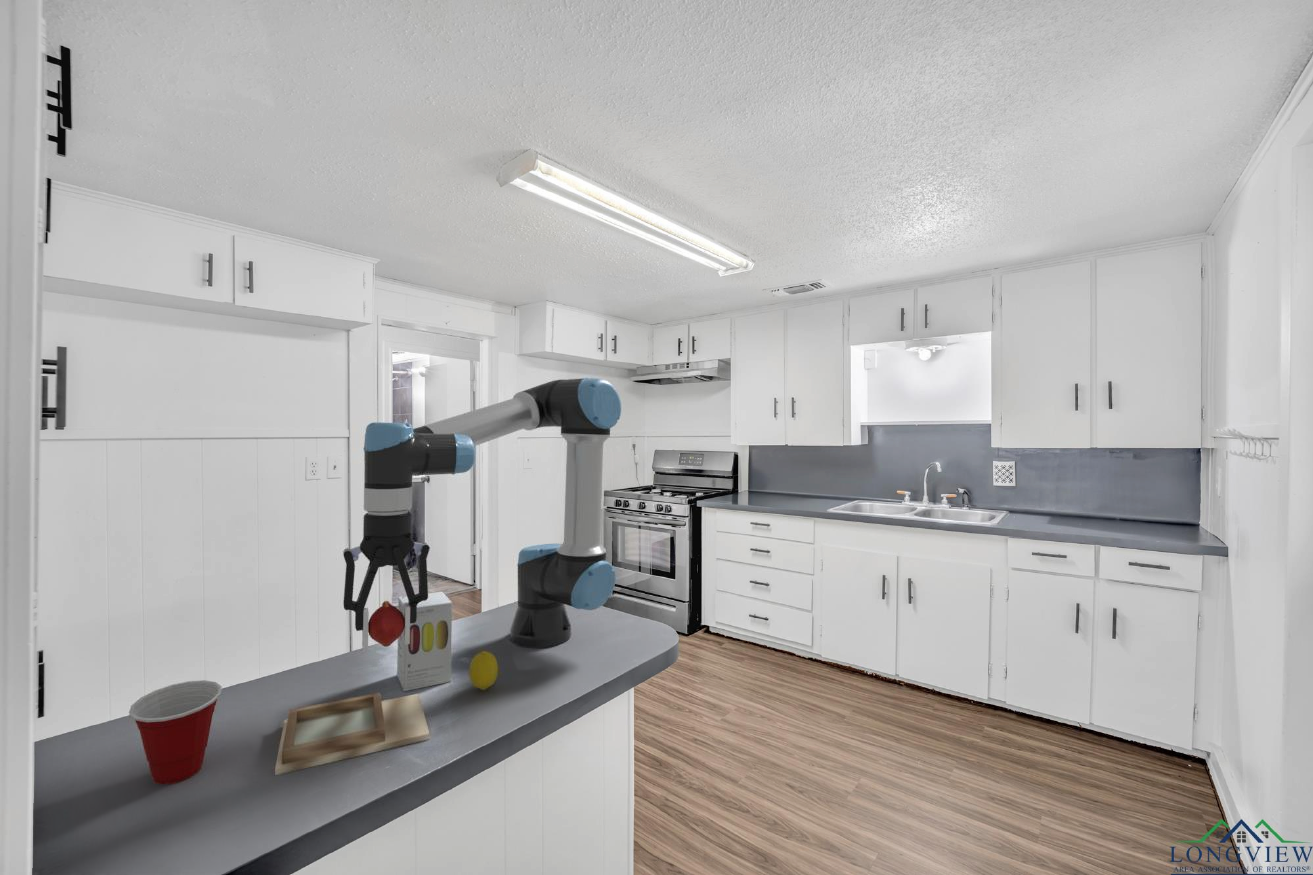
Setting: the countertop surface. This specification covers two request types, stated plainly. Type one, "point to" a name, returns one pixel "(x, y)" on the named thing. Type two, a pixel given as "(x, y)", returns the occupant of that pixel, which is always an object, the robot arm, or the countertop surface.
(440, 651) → the supplement box
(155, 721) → the plastic cup
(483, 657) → the lemon
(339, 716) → the board
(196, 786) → the countertop surface
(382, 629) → the onion
